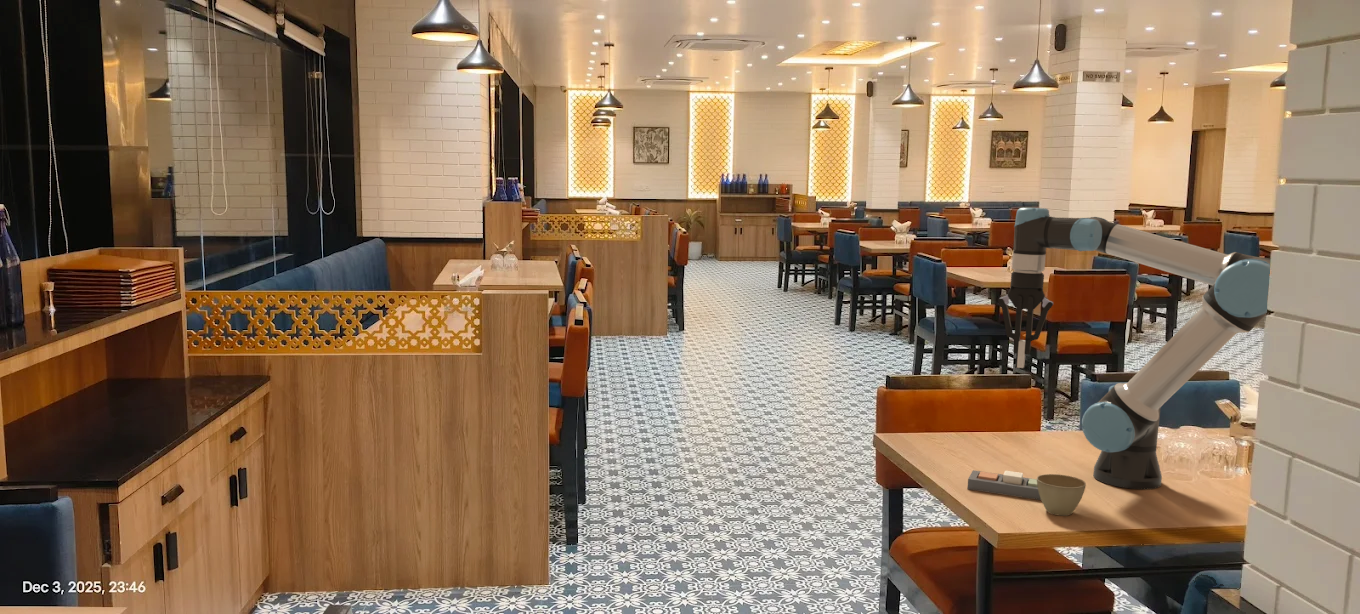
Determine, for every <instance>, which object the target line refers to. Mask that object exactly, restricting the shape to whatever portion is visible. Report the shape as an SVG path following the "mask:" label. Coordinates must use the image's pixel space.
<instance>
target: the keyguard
mask: <svg viewBox="0 0 1360 614" xmlns="http://www.w3.org/2000/svg"><path fill="white" fill-rule="evenodd" d="M980 472H983V471H982V470H974V469H973V470H972V471H971V473H970V475H969V477H968V478H967V490H971V491H978V492H986V493H991V494H992V493H993V494H1000V495H1007V496H1011V497H1019V498H1025V499H1033V500H1038V501H1042V500H1041V498H1040V495H1039V491H1038V487H1033V486H1028V481H1029V479H1032V478H1029V477H1024V476H1023V480H1022V485H1019V484H1012V483H1005V482H1003V474H1004V473H1003V474H1001V473H996V472H995V473H994V472H993V473H994V474H998V481H992V480H985V479H978V476H979V474H980ZM986 472H987V473H990V472H988V471H986ZM1035 479H1036V480H1037V478H1035Z"/></svg>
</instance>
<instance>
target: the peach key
mask: <svg viewBox="0 0 1360 614" xmlns="http://www.w3.org/2000/svg"><path fill="white" fill-rule="evenodd" d="M987 472H988V471H982V472H980V474H979V476H978V479H985V480H992V481H998V474H999V473H996V474H994V472H989V473H987Z"/></svg>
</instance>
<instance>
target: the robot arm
mask: <svg viewBox="0 0 1360 614" xmlns="http://www.w3.org/2000/svg"><path fill="white" fill-rule="evenodd" d="M1014 222H1015V223H1014V225H1013V228H1014V234H1013V235H1014V236H1013V250H1012V252H1013V253H1012V262H1011V269H1012V270H1013V271H1012V272H1011V275H1010V288H1009V290H1008V291H1007V294H1006V295H1004V296H1002V297H999V298H998V299H997V302H998V304H999V306H1000V307H1001V310H1002V311H1001V312H1002V316H1003V322H1004V327H1005V335H1006V337H1007V338H1009V339H1011V340H1013V349H1012V351H1013V354H1017V359H1016V360H1017V361H1016V369H1017V368H1018V369H1024V368H1025V361H1026V355H1029V354H1030V353H1031V347H1032V346H1031V345H1032V341H1038V339H1039V338H1040V336H1041V333H1042V331H1043V330H1042V329H1043V326H1044V323H1045V321H1046V318H1047V316H1048V315H1047V314H1048V313H1049V310H1050V309H1052V307H1053V306H1054V301H1052V300H1049V299H1048V298H1046V295H1045V293H1044V279H1045V274H1044V273H1043V272H1044V271H1045V269H1046V268H1045V267H1046V254H1047V251H1046V250H1047V249H1056V250H1066V251H1067V250H1068V251H1069V250H1070V251H1077V252H1093V251H1096V252H1100V253H1103V254H1106V255H1110V256H1114V257H1117V258H1121V259H1124V260H1128V261H1131V262H1134V263H1137V264H1140V265H1144V266H1147V267H1149V268H1150V267H1151V268H1154V269H1157V270H1160V271H1163V272H1167V273H1169V274H1170V273H1171V274H1173V275H1177V276H1179V277H1180V276H1181V277H1183V278H1186V279H1190V280H1193V281H1196V282H1199V283H1203V284H1207V285H1209V286H1211V287H1210V288H1209V289H1208V290H1207V291H1206V292H1205V293H1204V294H1203V295H1202V296H1201V301H1202V306H1201V308H1200V309H1199V310H1198V311H1197V312H1196V313H1195V314H1194V315H1193V316H1192V317H1191V318H1190V319H1189V320H1188V321H1187V322H1186V323H1185V324H1184V325H1183V326H1181V328H1179V330H1178V331H1177V332H1176V333H1175V334H1174V335H1173V336H1172V337H1170V339H1169V340H1168V341H1167V342H1166V343H1165V344H1164V345H1163V346H1162V347H1161V348H1160V349H1159V350H1158V351H1157V352H1156V353H1155V354H1154V356H1152V357H1151V358H1150V360H1147V363H1145V364H1144V365H1143V366H1142V367H1141V368H1140V369H1139V370H1138V372H1136V373H1135V375H1133V376H1132V378H1130V379H1129V381H1128V382H1124V383H1123V382H1119V383H1116V384H1114V385H1111V386H1109V387H1108V392H1107V393H1105V394H1104V396H1102V397H1101V399H1100V400H1098V401H1097V402H1095V403H1093V404H1091V405H1090V406H1089V407H1088V408H1087V409H1086V411H1085V412H1084V413H1083V415H1082V419H1081V429H1082V433H1083V435H1084V438H1085V439H1086V440H1087V442H1089V444H1090V445H1091V446H1093V447H1094V448H1095V449H1097V450H1099V451H1100V454H1099V456H1098V457H1097V460H1096V462H1095V464H1094V466H1093V478H1095V479H1096V480H1098V481H1099V482H1101V483H1104V484H1106V485H1110V486H1114V487H1118V488H1125V489H1131V490H1132V489H1133V490H1154V489H1159V488H1160V487H1161V486H1162V478H1163V475H1162V471H1161V467H1160V464H1159V460H1158V456H1157V448H1158V447H1157V446H1158V437H1159V427H1160V419H1161V418H1160V416H1161V408H1162V406H1164V404H1165V403H1167V401H1169V400H1170V398H1172V396H1174V394H1176V393H1177V392H1178V391H1179V390H1180V389H1181V388H1182V387H1183V386H1184V385H1185V384H1186V383H1187V382H1188V381H1189V380H1190V379H1191V378H1192V377H1193V376H1194V375H1195V374H1196V373H1197V372H1199V370H1200V369H1201V368H1203V367H1204V366H1205V364H1207V362H1209V361H1210V360H1211V359H1212V358H1213V357H1214V355H1216V354H1217V353H1218V352H1220V350H1221V349H1222V348H1224V346H1225V345H1226V344H1227V343H1228V342H1229V341H1231V339H1232V338H1233V337H1235V336H1236V334H1239V333H1241V334H1242V333H1249V332H1251V331H1252V330H1253V329H1254V328H1255V327H1256V326H1257V325H1258V324H1259V323H1260V322H1261V321H1262V320H1263V319H1264V318H1265V317H1266V316H1267V315H1266V313H1267V295H1268V284H1269V274H1270V259H1271V258H1267V257H1262V256H1260V257H1259V256H1253V255H1249V254H1245V253H1244V254H1243V253H1240V252H1237V251H1234V252H1231V253H1228V254H1227V253H1223V252H1220V251H1215V250H1212V249H1209V248H1205V247H1201V246H1198V245H1195V244H1190V243H1188V242H1184V241H1180V240H1175V239H1173V238H1168V237H1166V236H1161V235H1159V234H1154V233H1151V232H1147V231H1144V230H1140V229H1136V228H1133V227H1129V226H1127V225H1122V224H1119V223H1118V224H1117V223H1116V222H1111V221H1108V220H1107V219H1106V218H1102V217H1098V216H1091V217H1055V216H1050V210H1049V209H1048V208H1045V207H1044V208H1042V207H1041V208H1040V207H1020V208H1018V209H1017V210H1016V215H1015V221H1014ZM1009 300H1010V301H1009ZM1010 302H1011V304H1012V305H1013V306H1014V307H1015V308H1016V309H1015V324H1014V331H1013V326H1012V322H1011V315H1010V310H1009V306H1008V305H1009V303H1010ZM1041 302H1042V308H1043V309H1042V311H1041V314H1040V316H1039V318H1038V322H1037V325H1036V328H1035V331H1034V334H1032V333H1033V323H1034V322H1033V321H1034V320H1033V319H1034V311H1035V309H1036V308H1037V307H1038V306H1039V305H1040V303H1041ZM1023 310H1026V311H1027V312H1026V325H1025V327H1026V328H1025V338H1024V339H1021V332H1022V319H1023V318H1022V317H1023Z"/></svg>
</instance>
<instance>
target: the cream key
mask: <svg viewBox="0 0 1360 614" xmlns="http://www.w3.org/2000/svg"><path fill="white" fill-rule="evenodd" d="M1023 477H1024V472H1018V471H1017V472H1016V471H1012V470H1004V473H1003V482H1005V483H1012V484H1019V485H1022V480H1023Z"/></svg>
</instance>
